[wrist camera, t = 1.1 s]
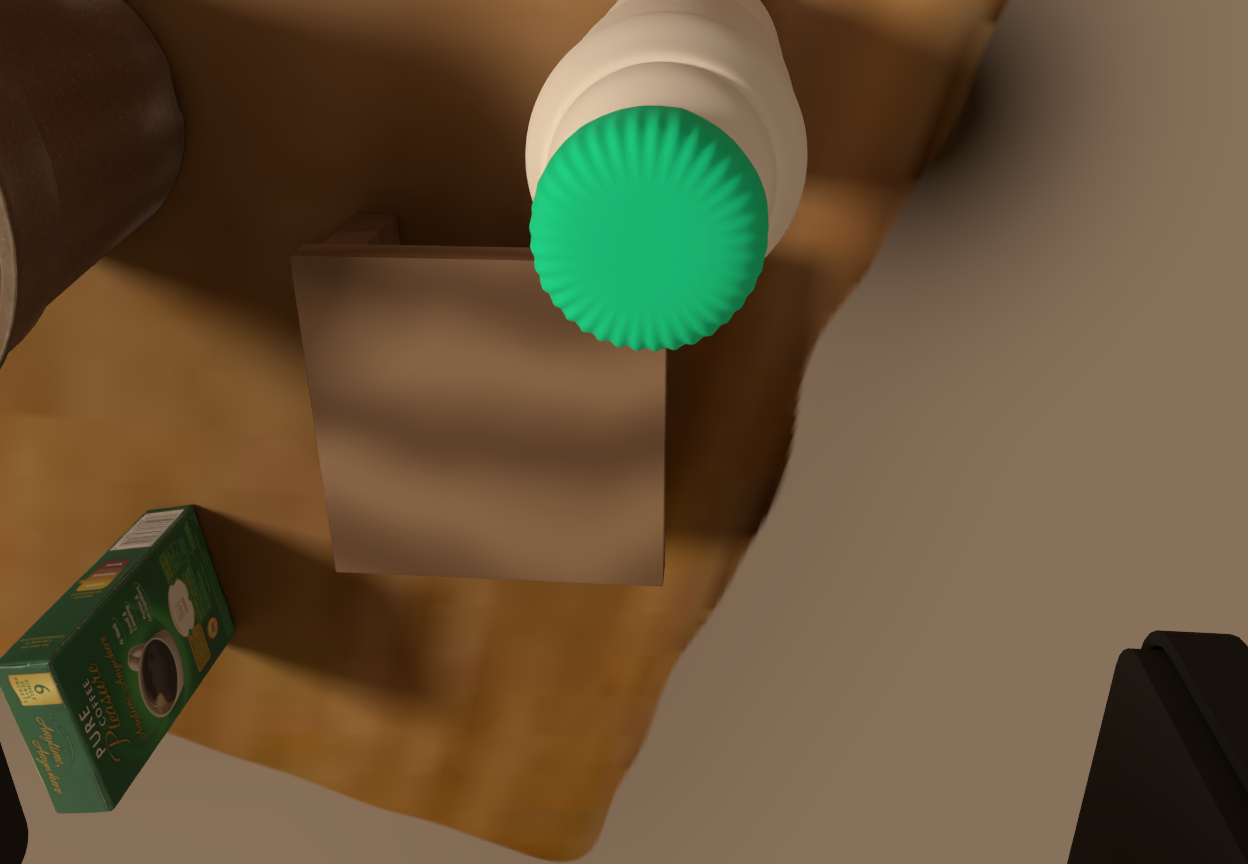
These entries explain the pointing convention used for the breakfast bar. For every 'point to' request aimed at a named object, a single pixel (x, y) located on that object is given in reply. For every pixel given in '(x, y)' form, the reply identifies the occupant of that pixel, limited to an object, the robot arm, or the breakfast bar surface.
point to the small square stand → (475, 417)
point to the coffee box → (117, 660)
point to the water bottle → (663, 169)
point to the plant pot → (76, 145)
